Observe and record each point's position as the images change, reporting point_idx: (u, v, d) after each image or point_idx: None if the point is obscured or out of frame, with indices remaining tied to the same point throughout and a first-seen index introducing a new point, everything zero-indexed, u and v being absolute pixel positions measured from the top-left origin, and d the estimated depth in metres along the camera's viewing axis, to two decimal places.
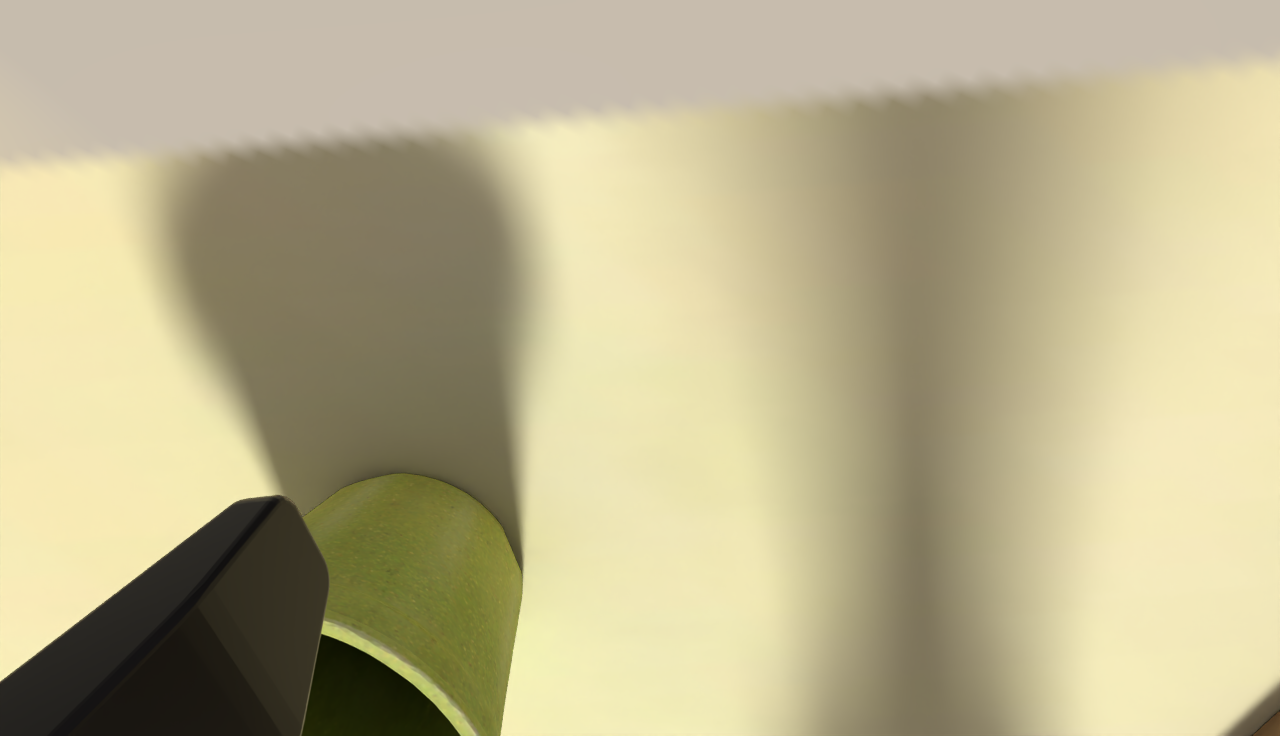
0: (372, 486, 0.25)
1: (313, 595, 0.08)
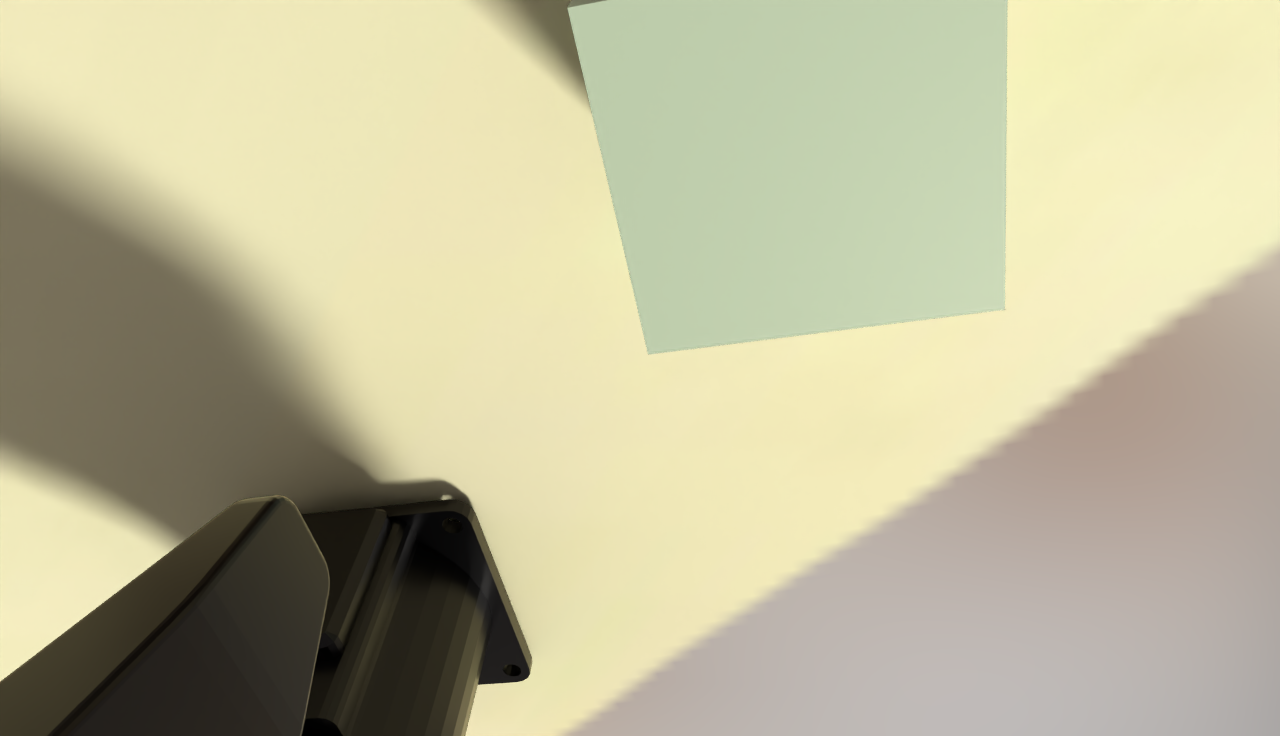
0: None
1: (313, 595, 0.08)
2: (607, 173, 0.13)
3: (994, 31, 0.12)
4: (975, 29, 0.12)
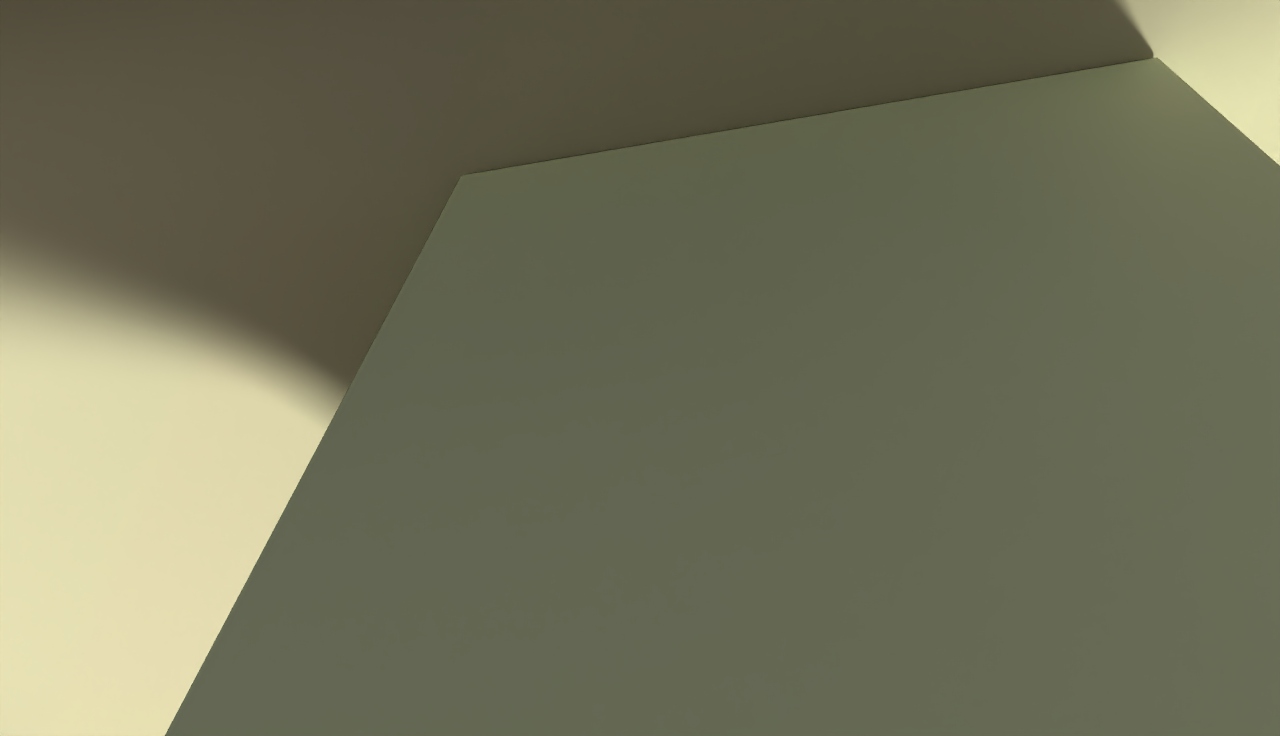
0: None
1: None
2: None
3: None
4: None
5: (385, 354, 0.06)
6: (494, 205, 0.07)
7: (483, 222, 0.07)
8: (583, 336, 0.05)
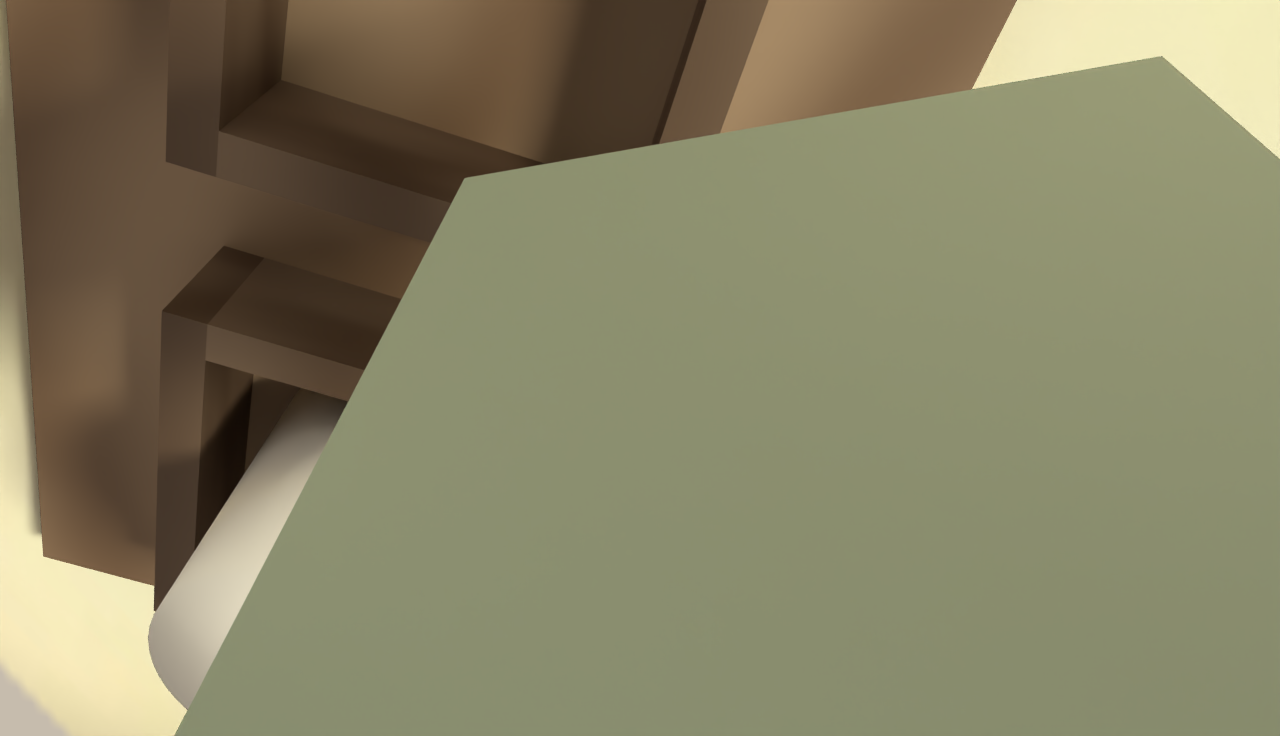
0: None
1: None
2: None
3: None
4: None
5: (389, 358, 0.06)
6: (498, 207, 0.07)
7: (487, 225, 0.07)
8: (587, 337, 0.05)
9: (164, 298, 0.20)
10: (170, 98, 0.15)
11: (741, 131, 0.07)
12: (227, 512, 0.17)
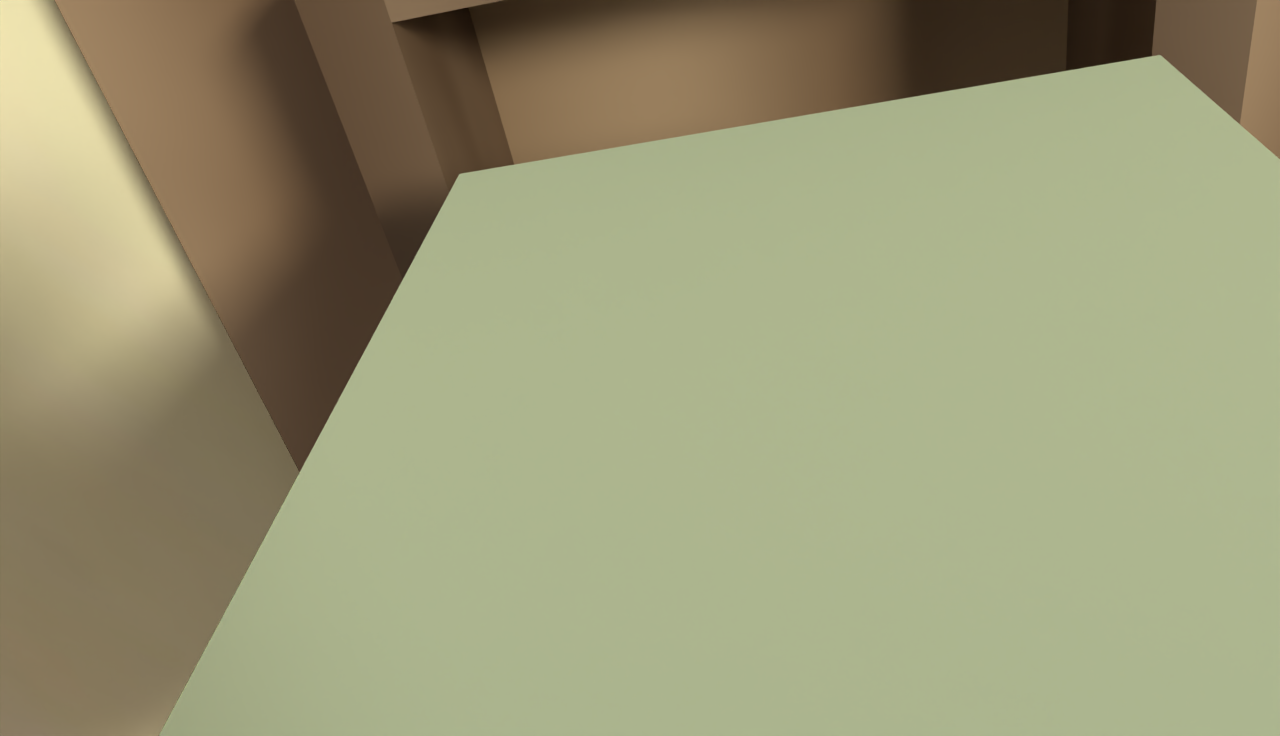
0: None
1: None
2: None
3: None
4: None
5: (381, 354, 0.05)
6: (492, 203, 0.07)
7: (481, 221, 0.07)
8: (581, 335, 0.05)
9: None
10: None
11: (737, 128, 0.07)
12: None
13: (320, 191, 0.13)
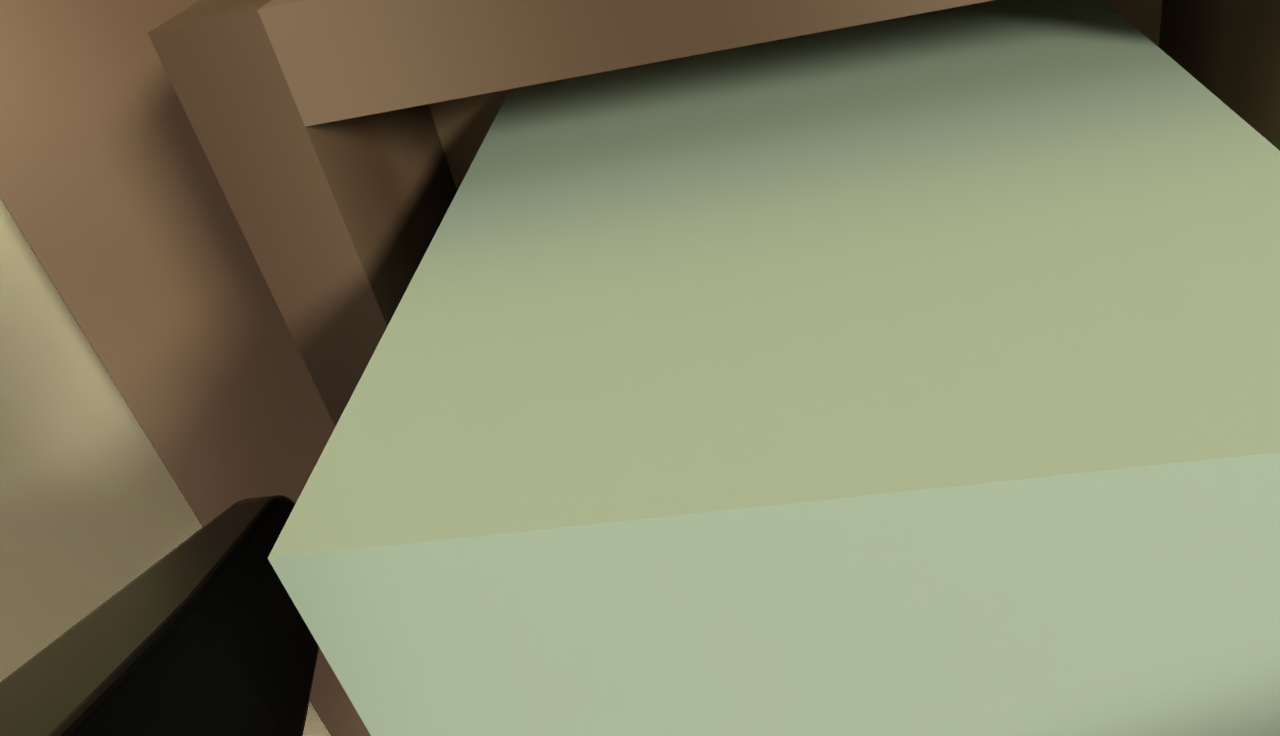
0: None
1: None
2: None
3: None
4: None
5: (467, 199, 0.07)
6: (541, 104, 0.09)
7: (534, 115, 0.08)
8: (622, 178, 0.07)
9: None
10: None
11: None
12: None
13: (252, 290, 0.11)
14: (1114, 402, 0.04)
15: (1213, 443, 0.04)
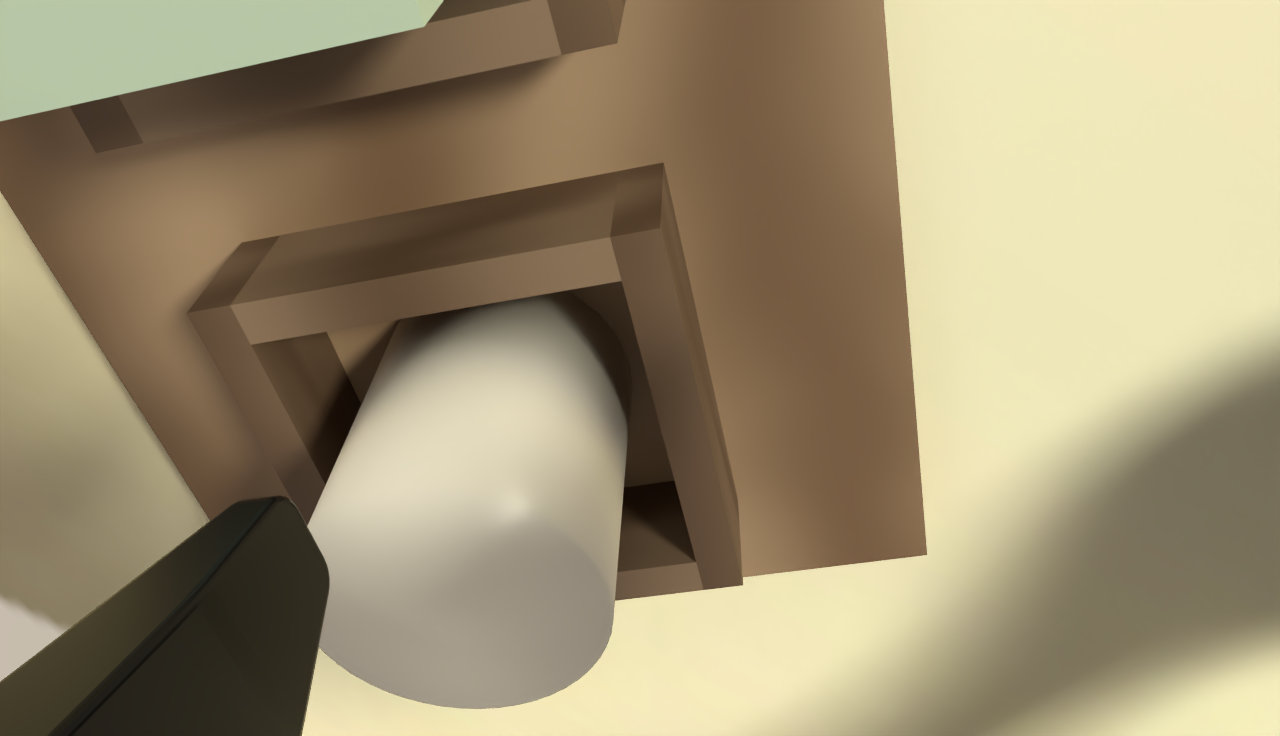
0: None
1: (313, 595, 0.08)
2: None
3: None
4: None
5: None
6: None
7: None
8: None
9: None
10: None
11: None
12: None
13: None
14: None
15: None
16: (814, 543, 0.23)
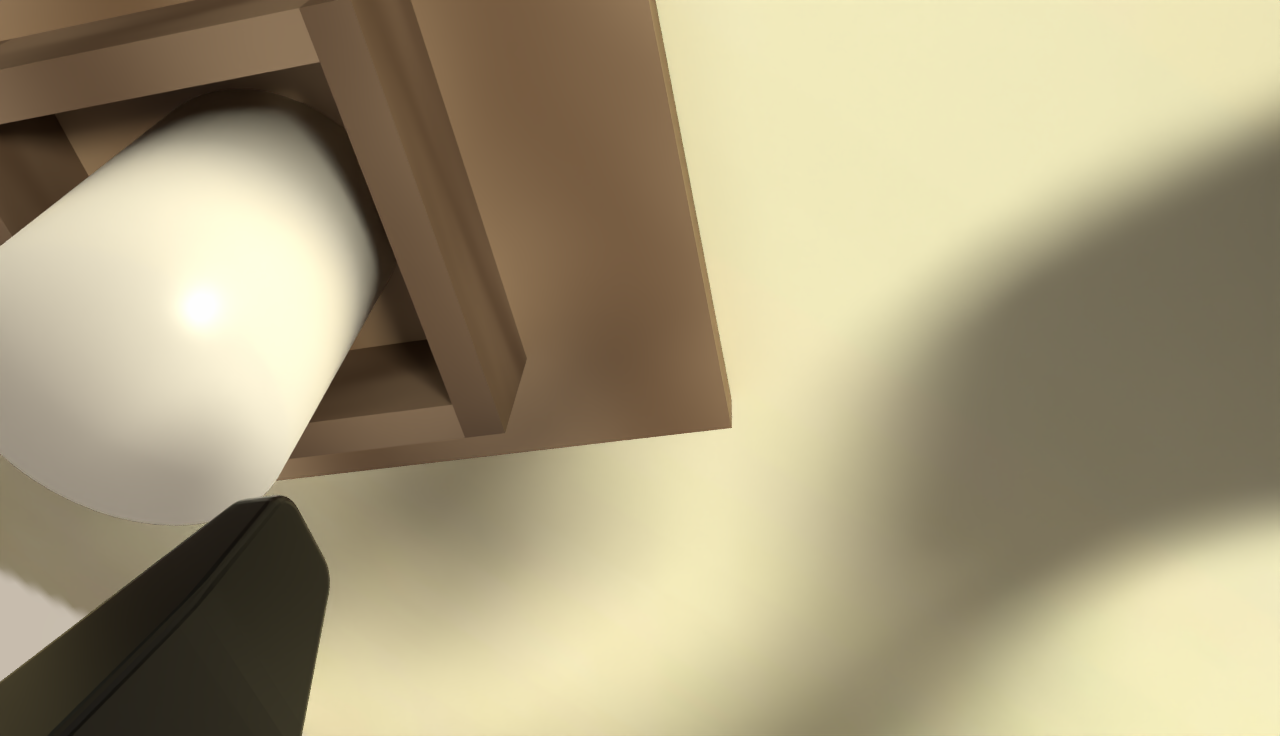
0: None
1: (313, 595, 0.08)
2: None
3: None
4: None
5: None
6: None
7: None
8: None
9: None
10: None
11: None
12: None
13: None
14: None
15: None
16: (612, 411, 0.21)
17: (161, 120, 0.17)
